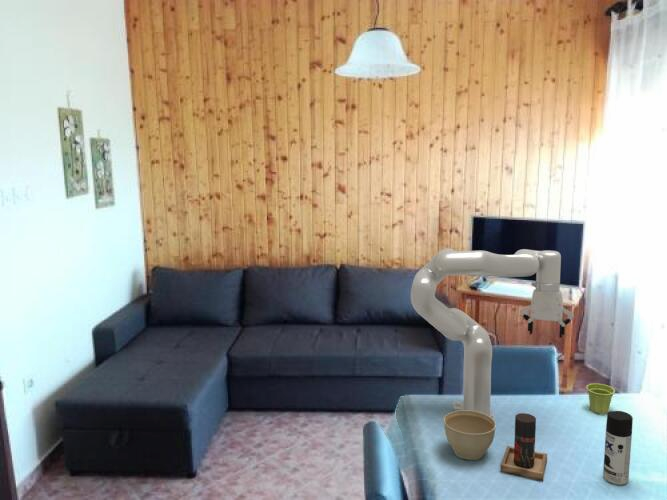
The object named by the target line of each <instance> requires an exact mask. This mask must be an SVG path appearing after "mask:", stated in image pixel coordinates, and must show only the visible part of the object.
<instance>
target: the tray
mask: <svg viewBox="0 0 667 500" xmlns="http://www.w3.org/2000/svg"><path fill="white" fill-rule="evenodd" d="M547 462H548V453H544V452H541V451H536V450H535V457H534V467H533V468H530V469H526V468H522V467H517V466H516V465H515V464H514V446H512V445H506V448H505V451H504V454H503V457H502V460H501V462H500V473H503V472H504V473H503V474H507V473H508V475H512V474H513V475H512V476H517V477H522V478H526V479H530V480H534V481H538V482H544V477H545V473H546V467H547Z"/></svg>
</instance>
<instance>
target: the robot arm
mask: <svg viewBox="0 0 667 500" xmlns="http://www.w3.org/2000/svg"><path fill="white" fill-rule="evenodd" d="M561 262H562V256H561V253H560V252H559V251H557V250H550V249H549V250H534V249H526V248H523V249H519V250H517V251H516V252H515V253H514V254H499V253H498V254H497V253H493V252H490V251H487V250H480V249H479V250H455V249H453V248H449V247H448V248H447V247H446V248H442V249H441V250H439V251H438V252H437V253H436V254H435V255H433V257H432V258H431V259H430V260H429V261H428V262H426V263H425V265H423V266H422V267H421V268H420V269H419V270H418V271H417V272H416V274H415V275H414V278H413V281H412V285H411V289H410V302H411V305H412V307H413V309H414V311H415V312H416V313H417V314H418V315H419V316H421V317H422V318H423V319H424V320H425V321H427V322H428V324H430V325H431V326H433V327H434V328H435V329H436V330H437V331H438V332H440V333H441V334H442V335H443V336H444V337H445V338H446V339H448V340H450V341H454V342H458V341H460V342H461V343H462V344H463V387H462V388H463V392H462V393H463V396H462V397H463V399H462V400H463V401H460V402H457V401H454V400H453V401H452V402H451V407H453V410H455V411H459V410H469V411H476V412H480V413H483V414H486V415H488V416H489V417H491V418H492V419H493V420H494V421H495V414H494V412H493V411H491V391H492V386H491V385H492V381H491V380H492V360H493V345H492V342H491V341H492V340H491V339H490V334H489V332H488V331H487V330H486V329H485V328H484V327H483V326H482V325H480V324H479V323H478V322H477V321H476V320H475V319H473V318H471V317H470V316H469V315H468V314H467V313H466V312H464V311H463V310H461V309H459V308H455V307H454V308H453V307H451V308H449V307H447V305H445V303H443V302H441V301H440V300H439V299H437V298H436V296H435V294H436V290H437V288H438V287H437V286H438V285H439V283H441V282H442V281H443V280H444V279H445V278H446V277H447V276H482V275H483V276H490V277H502V278H519V277H520V278H521V277H522V278H523V277H524V278H525V277H531V276H533V275H535V274H536V277H535V279H536V280H535V281H534V282H533V281H532V282H531V287H534V289H533V291H532V296H531V302H530V303H531V304H530V305H527V306H524V307H521V308H520V310H519V311H520V313H521V315H522V318H523V319H524V320H525V321H526V322H527V332H529V335H532V334H533V332H534V320H537V321H546V322H547V321H548V322H549V321H550V322H558V323H559V339H560V338H561V339H562V338H563V336H565V333H566V331H565V330H566V328H565V327H566V326H568V324H569V323H570V322H571V321H572V320H573V318H574V317H575V314H574V313H573V312H571V311H570V310H568V309H567V308H565V307H564V303H563V302H564V300H563V293H562V290H561V288H560V287H561V269H562V268H561V265H562V264H561ZM527 311H530V316H529V315H528V314H527ZM564 314H565V315H567V316H568V317H567V318H566V319H564V318H563V315H564Z"/></svg>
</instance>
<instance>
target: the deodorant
mask: <svg viewBox="0 0 667 500" xmlns="http://www.w3.org/2000/svg"><path fill="white" fill-rule="evenodd" d="M514 418H515V419H514V443H513V444H514V445H513V447H514V464H515V465H516V466H517V467H522V468H526V469H530V468H533V467H534V457H535V451H536V430H537V429H536V428H537V427H536V426H537V417H536V416H535V415H533V414H530V413H525V412H524V413H523V412H521V413H516V414H515V417H514Z"/></svg>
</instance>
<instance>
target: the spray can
mask: <svg viewBox="0 0 667 500" xmlns="http://www.w3.org/2000/svg"><path fill="white" fill-rule="evenodd" d="M606 415H607V416H606V424H605V437H604V438H605V439H604V440H605V441H604V455H603V470H602V476H603V478H604V480H605V481H606V482H608V483H610V484H612V485H616V486H625V485H627V484H628V482H629V478H630V466H631V465H630V464H631V451H632V450H631V449H632V441H633V440H632V438H633V421H634V418H633V416H632V414H630V413H628V412H625V411H622V410H611V411H608V413H607V414H606Z"/></svg>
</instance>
